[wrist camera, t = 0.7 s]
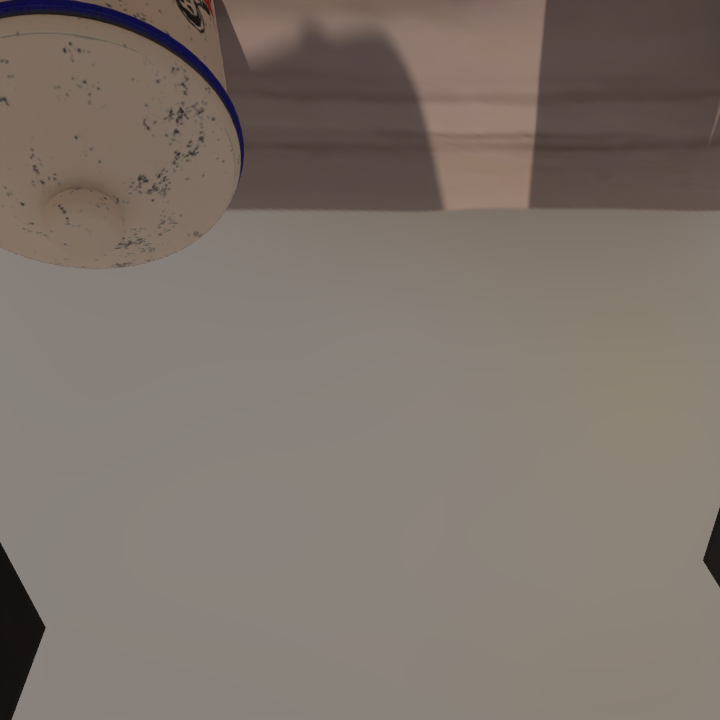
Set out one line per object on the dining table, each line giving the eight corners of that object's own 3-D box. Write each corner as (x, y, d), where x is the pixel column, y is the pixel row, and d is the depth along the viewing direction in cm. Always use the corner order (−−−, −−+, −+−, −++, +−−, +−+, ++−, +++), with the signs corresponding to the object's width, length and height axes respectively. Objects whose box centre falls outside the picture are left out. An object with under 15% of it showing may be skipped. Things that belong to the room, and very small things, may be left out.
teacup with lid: (252, -88, 23) (307, 147, 17) (182, 124, 29) (204, 347, 23) (-202, -283, 17) (-364, -28, 11) (-162, 37, 23) (-249, 304, 17)
